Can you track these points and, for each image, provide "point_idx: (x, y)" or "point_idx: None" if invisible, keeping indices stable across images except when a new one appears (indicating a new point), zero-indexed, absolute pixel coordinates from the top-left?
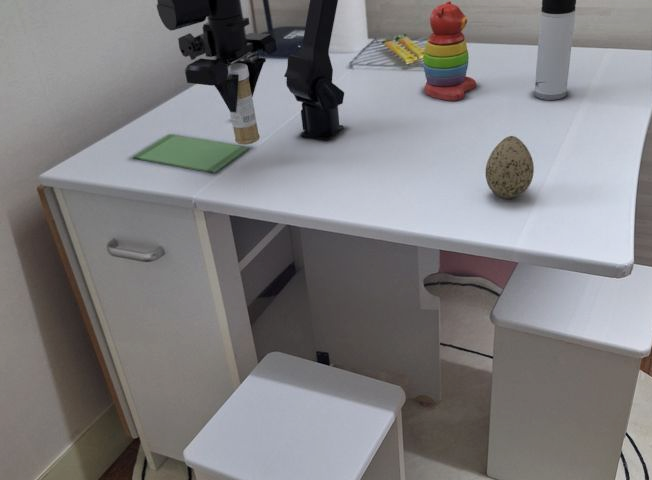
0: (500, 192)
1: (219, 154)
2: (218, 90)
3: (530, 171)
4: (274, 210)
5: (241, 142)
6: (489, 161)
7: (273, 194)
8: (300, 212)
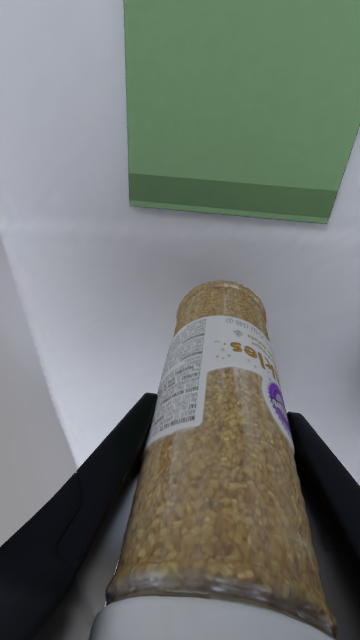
0: None
1: (253, 141)
2: (39, 515)
3: None
4: (54, 399)
5: (176, 323)
6: None
7: (100, 380)
8: (70, 430)
